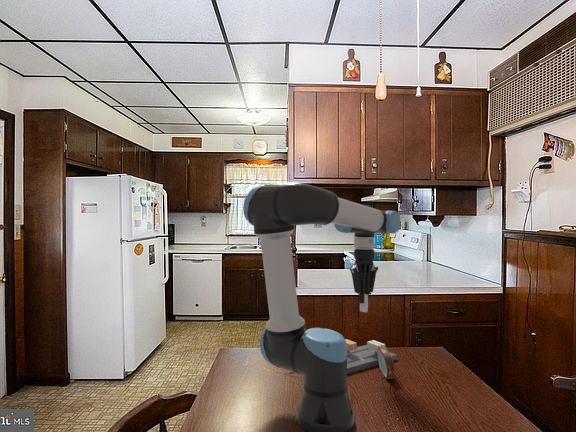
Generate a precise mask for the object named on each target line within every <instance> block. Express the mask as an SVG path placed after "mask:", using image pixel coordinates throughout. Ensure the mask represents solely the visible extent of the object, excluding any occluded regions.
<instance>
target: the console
mask: <svg viewBox="0 0 576 432" xmlns="http://www.w3.org/2000/svg"><path fill="white" fill-rule="evenodd" d="M389 353H390V354H391V356H392V359H393V362H394V361H397V360H398V359H397V354H395V353H393V352H390V351H389ZM377 366H379V362H378V352H377V355H375V351H374V350H371V349H369V348H367V344H364V345H362V346H361V345H360V346H357V349H356V350H352V351H350V353H348V357H347V375H348V374H352V373H356V372H359V371H362V370H366V369H370V368H373V367H377Z"/></svg>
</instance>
